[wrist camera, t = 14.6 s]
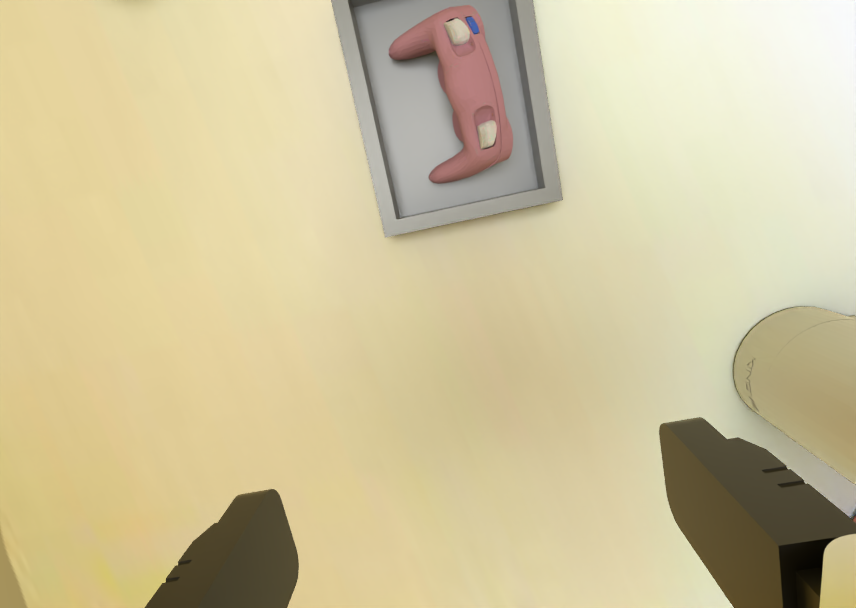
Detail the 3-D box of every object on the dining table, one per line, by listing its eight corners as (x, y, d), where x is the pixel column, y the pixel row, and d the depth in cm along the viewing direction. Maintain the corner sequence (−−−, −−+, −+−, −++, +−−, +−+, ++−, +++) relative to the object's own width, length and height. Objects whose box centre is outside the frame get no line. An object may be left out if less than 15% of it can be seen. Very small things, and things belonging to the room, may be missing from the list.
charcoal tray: (514, -45, 33) (521, -72, 29) (552, 199, 36) (562, 199, 33) (338, 0, 34) (326, -21, 31) (391, 233, 37) (385, 237, 34)
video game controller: (481, 173, 37) (538, 152, 30) (427, 191, 35) (475, 173, 29) (439, 33, 35) (490, -21, 28) (380, 46, 33) (419, -9, 27)
